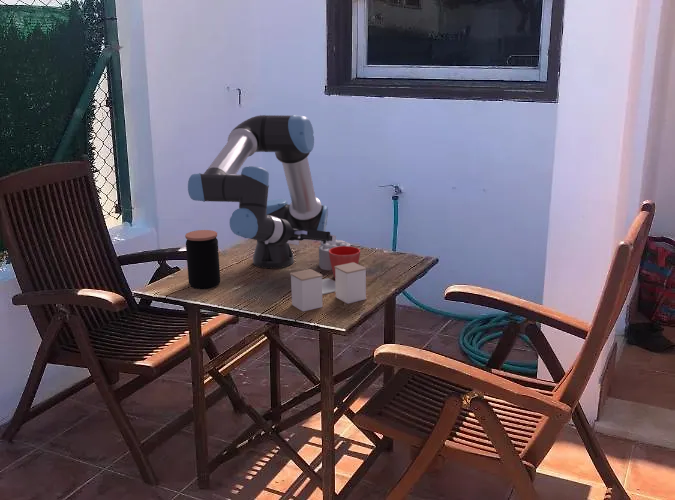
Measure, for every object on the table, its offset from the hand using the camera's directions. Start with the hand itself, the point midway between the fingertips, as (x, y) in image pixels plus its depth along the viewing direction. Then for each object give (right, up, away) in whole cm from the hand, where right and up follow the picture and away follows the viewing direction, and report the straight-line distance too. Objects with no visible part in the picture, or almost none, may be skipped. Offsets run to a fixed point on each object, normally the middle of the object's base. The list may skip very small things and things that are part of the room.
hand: (316, 240), depth 223 cm
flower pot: (+9, -12, +31) cm, 35 cm away
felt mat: (+2, -15, +21) cm, 26 cm away
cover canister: (-3, -20, +5) cm, 21 cm away
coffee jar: (-39, -15, +25) cm, 49 cm away
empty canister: (+11, -18, +11) cm, 24 cm away
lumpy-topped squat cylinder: (+5, -9, +45) cm, 46 cm away
